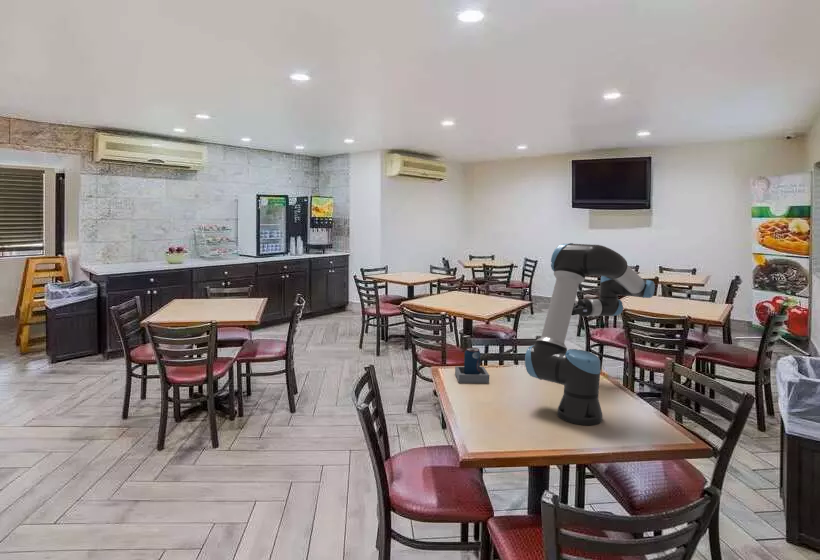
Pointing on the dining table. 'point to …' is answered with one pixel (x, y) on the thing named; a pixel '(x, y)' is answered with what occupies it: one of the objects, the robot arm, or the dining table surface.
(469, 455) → the dining table surface
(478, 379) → the drink tray
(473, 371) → the soda can
